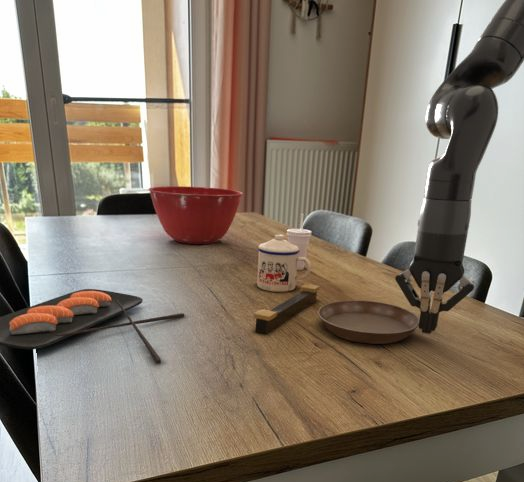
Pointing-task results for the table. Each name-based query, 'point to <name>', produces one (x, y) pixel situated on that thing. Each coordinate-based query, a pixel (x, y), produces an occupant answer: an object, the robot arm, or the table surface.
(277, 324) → the rail
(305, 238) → the smoothie
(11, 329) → the sushi plate
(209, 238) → the mixing bowl
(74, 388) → the table surface
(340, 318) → the plant saucer
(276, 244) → the teacup with lid
